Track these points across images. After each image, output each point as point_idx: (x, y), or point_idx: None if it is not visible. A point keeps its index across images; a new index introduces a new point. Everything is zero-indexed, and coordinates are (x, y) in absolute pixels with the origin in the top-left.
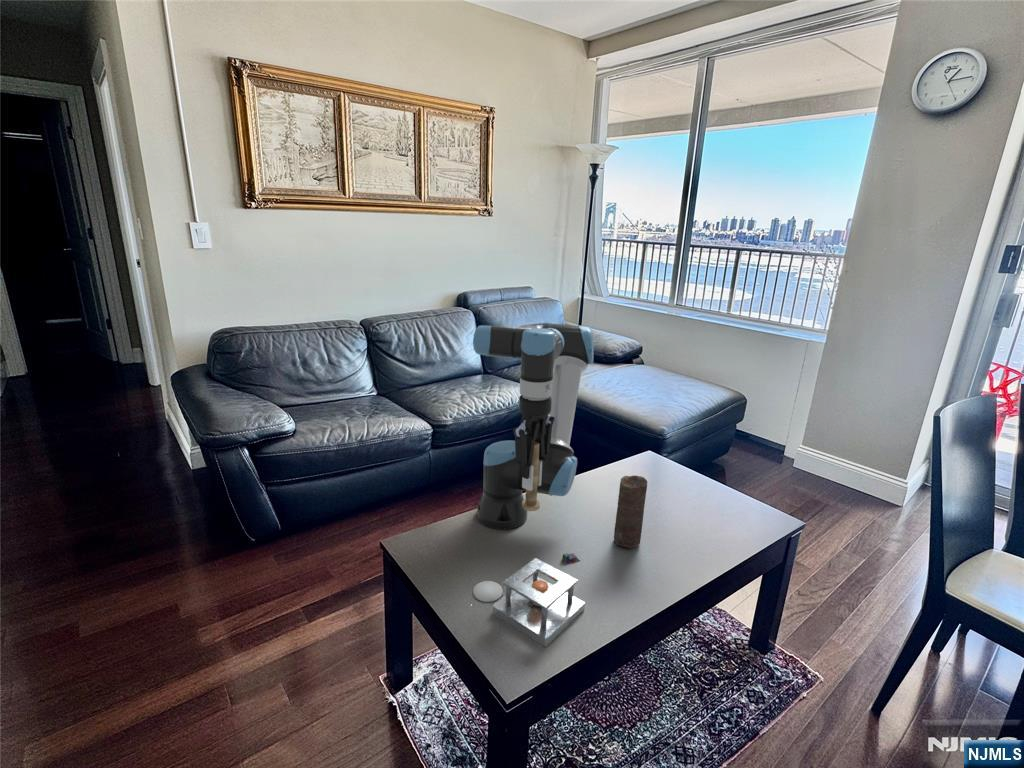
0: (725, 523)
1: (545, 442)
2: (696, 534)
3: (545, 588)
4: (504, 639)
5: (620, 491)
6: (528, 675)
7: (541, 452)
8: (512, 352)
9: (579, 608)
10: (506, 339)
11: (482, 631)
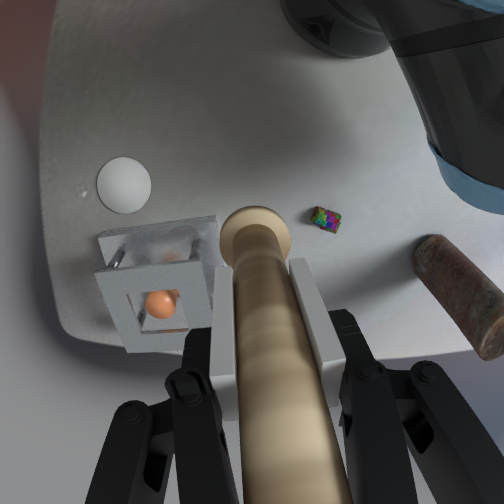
0: None
1: (431, 473)
2: None
3: (163, 316)
4: (93, 281)
5: (481, 311)
6: (94, 332)
7: (346, 457)
8: None
9: None
10: None
11: (73, 251)
